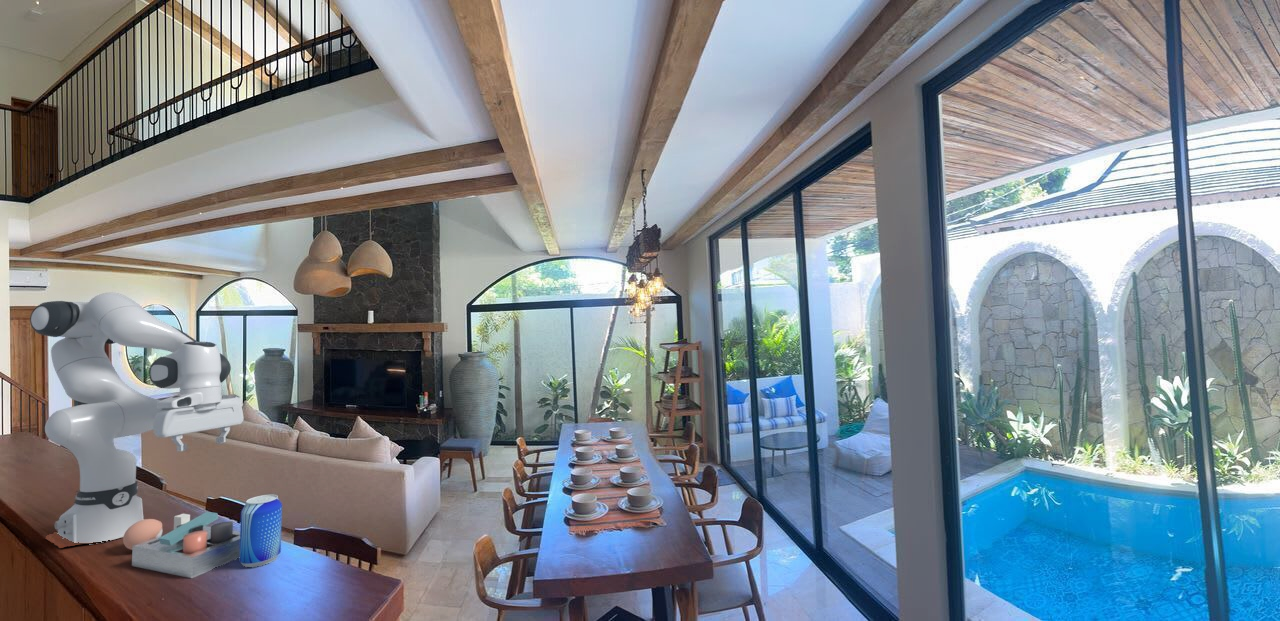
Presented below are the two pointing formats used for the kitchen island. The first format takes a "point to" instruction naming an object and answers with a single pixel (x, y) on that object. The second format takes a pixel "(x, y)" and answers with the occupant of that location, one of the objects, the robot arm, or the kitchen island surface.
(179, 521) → the slider knob
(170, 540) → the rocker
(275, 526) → the beer can
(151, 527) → the toy ball
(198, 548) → the pink rounded cylinder
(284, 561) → the kitchen island surface
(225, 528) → the black button
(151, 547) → the switch box
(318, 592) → the kitchen island surface
